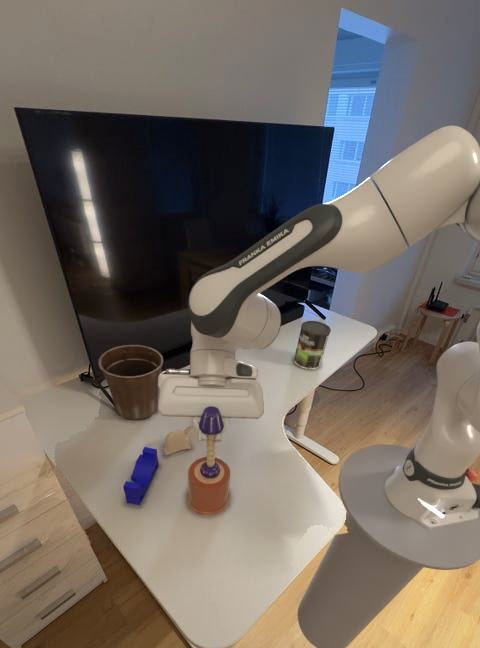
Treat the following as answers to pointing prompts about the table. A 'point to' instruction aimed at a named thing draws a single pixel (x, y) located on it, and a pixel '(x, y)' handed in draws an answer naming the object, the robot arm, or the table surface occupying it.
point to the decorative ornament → (177, 441)
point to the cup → (208, 488)
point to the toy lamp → (210, 439)
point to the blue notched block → (141, 476)
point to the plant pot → (133, 379)
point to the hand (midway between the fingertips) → (210, 441)
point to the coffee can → (311, 344)
